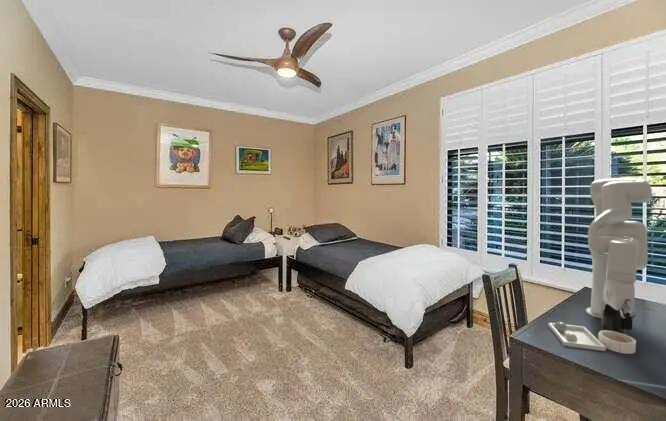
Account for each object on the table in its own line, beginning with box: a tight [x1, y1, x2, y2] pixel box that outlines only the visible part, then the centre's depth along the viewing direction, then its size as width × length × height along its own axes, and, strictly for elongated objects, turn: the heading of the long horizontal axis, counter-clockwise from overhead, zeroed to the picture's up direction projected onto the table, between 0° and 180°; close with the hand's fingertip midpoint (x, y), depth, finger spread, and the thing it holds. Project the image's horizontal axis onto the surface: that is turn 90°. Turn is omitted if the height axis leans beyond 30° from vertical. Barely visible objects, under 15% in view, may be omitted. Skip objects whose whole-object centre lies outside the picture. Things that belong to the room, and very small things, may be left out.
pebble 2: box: [565, 333, 577, 342], centre depth 110 cm, size 3×3×3 cm
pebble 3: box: [611, 336, 626, 343], centre depth 107 cm, size 4×4×4 cm
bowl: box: [597, 330, 637, 355], centre depth 108 cm, size 10×10×4 cm
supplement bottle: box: [600, 309, 626, 335], centre depth 117 cm, size 7×7×12 cm
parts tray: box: [548, 322, 607, 352], centre depth 114 cm, size 16×12×2 cm
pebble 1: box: [554, 320, 567, 332], centre depth 119 cm, size 4×4×4 cm
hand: (617, 322), depth 108 cm, fingers open, 9 cm apart
